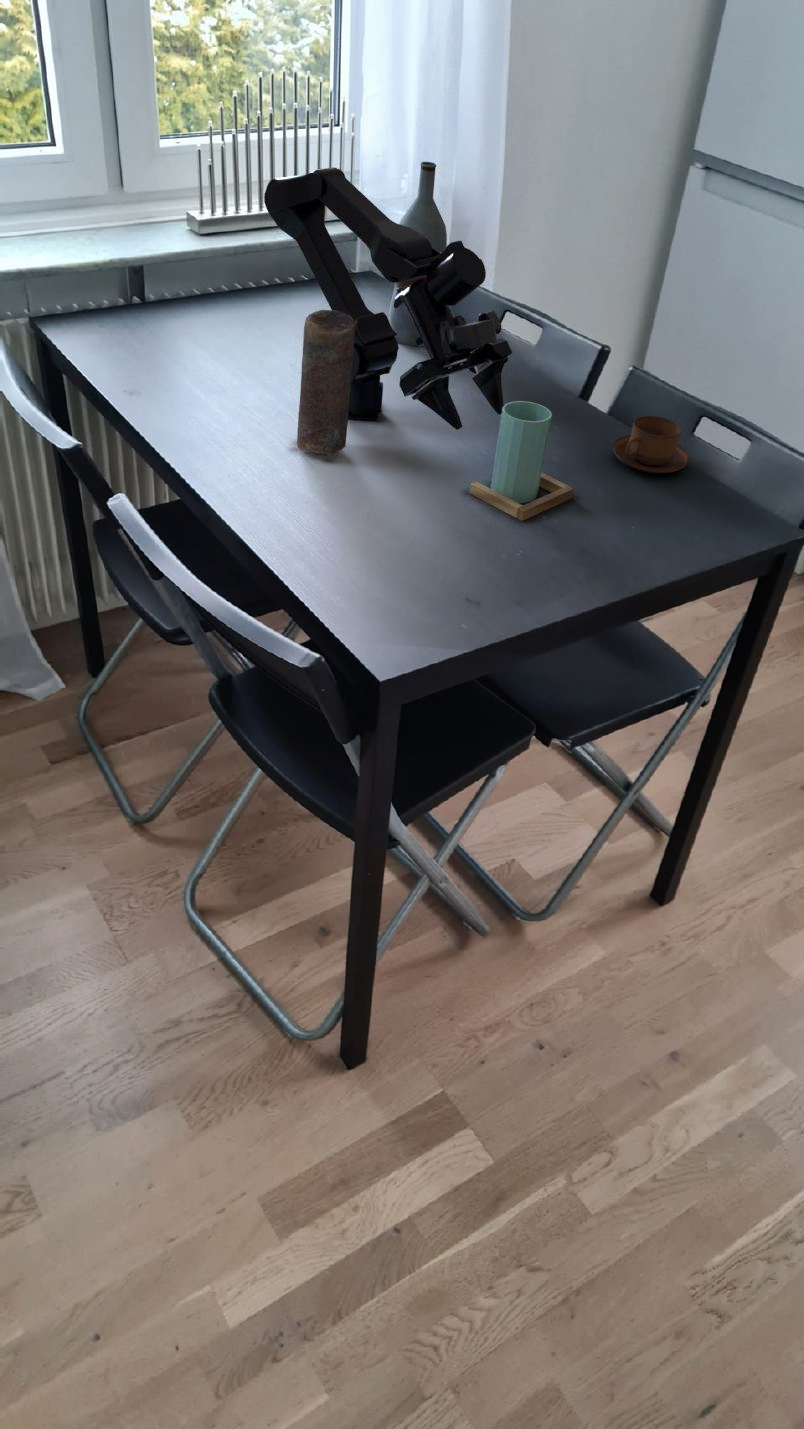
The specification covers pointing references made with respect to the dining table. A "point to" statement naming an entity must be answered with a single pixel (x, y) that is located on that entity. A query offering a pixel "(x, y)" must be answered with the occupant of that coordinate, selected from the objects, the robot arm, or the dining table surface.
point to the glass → (520, 450)
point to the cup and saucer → (652, 446)
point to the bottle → (431, 226)
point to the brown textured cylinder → (325, 382)
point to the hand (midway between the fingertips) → (481, 420)
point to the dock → (522, 512)
